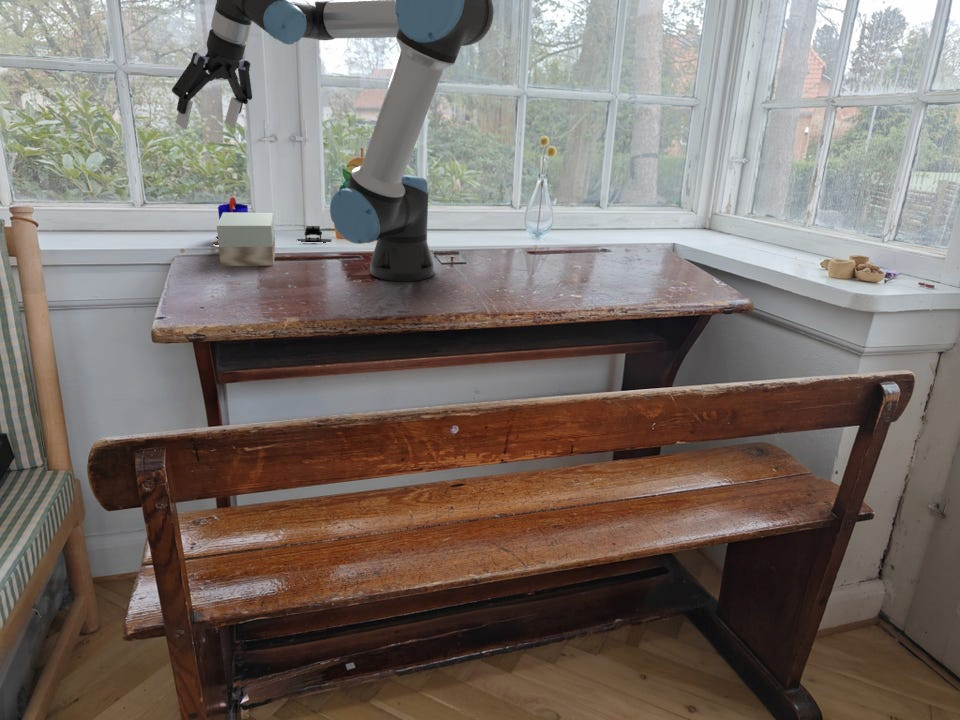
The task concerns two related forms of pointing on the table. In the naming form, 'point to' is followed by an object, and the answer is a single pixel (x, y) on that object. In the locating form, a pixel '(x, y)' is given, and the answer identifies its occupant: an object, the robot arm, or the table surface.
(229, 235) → the top block
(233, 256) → the base block
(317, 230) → the build plate
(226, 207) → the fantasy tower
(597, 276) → the table surface
